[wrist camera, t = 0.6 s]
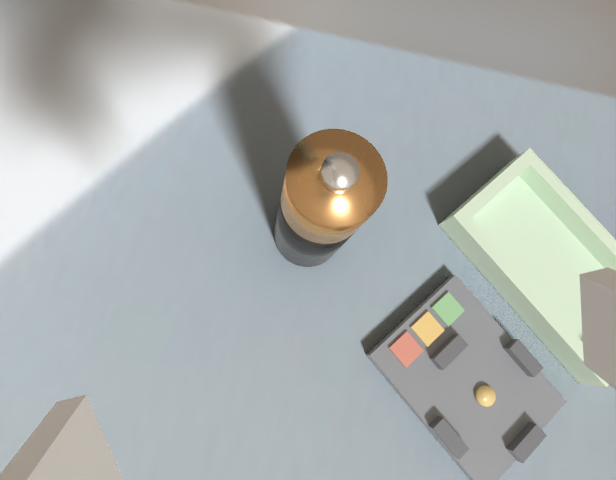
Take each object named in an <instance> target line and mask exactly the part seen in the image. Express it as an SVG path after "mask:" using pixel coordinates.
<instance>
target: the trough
mask: <svg viewBox="0 0 616 480" xmlns="http://www.w3.org/2000/svg"><path fill="white" fill-rule="evenodd" d="M439 226H440V227H441V228H442V230H443V231H444V232H445V233H446V234H447V235H448V236H449V237H450V239H451V240H452V241H453V242H454V243H455V244H456V245H457V247H458V248H459V249H460V250H461V251H462V252H463V253H464V254H465V256H466V257H467V258H468V259H469V260H470V261H471V262H472V263H473V265H474V266H475V267H476V268H477V269H478V270H479V271H480V272H481V274H482V275H483V276H484V277H485V278H486V279H487V280H488V281H489V283H490V284H491V285H492V286H493V287H494V288H495V289H496V291H497V292H498V293H499V294H500V295H501V296H502V297H503V298H504V300H505V301H506V302H507V303H508V304H509V305H510V306H511V307H512V309H513V310H514V311H515V312H516V313H517V314H518V315H519V316H520V318H521V319H522V320H523V321H524V322H525V323H526V324H527V326H528V327H529V328H530V329H531V330H532V331H533V332H534V333H535V335H536V336H537V337H538V338H539V339H540V340H541V341H542V342H543V344H544V345H545V346H546V347H547V348H548V349H549V350H550V351H551V353H552V354H553V355H554V356H555V357H556V358H557V359H558V361H559V362H560V363H561V364H562V365H563V366H564V367H565V368H566V370H567V371H568V372H569V373H570V374H571V375H572V376H573V377H574V379H575V380H576V381H577V382H578V383H580V384H587V385H594V386H601V387H607V386H608V385H609V384H608V383H607V382H605V381H604V380H603V379H601V378H600V377H599V376H598V375H596V374H595V373H594V372H593V371H591V370H590V369H589V368H587V367H586V366H585V365H584V357H583V336H582V316H581V295H580V274H583V273H587V272H591V271H595V270H599V269H603V268H607V267H608V268H611V269H613V270H615V271H616V240H615V239H614V238H613V237H612V235H611V234H610V233H609V232H608V231H607V230H606V229H605V228H604V227H603V226H602V225H601V224H600V223H599V222H598V220H597V219H596V218H595V217H594V216H593V215H592V214H591V213H590V212H589V211H588V210H587V209H586V208H585V207H584V205H583V204H582V203H581V202H580V201H579V200H578V199H577V198H576V197H575V196H574V195H573V194H572V193H571V192H570V190H569V189H568V188H567V187H566V186H565V185H564V184H563V183H562V182H561V181H560V180H559V179H558V178H557V177H556V175H555V174H554V173H553V172H552V171H551V170H550V169H549V168H548V167H547V166H546V165H545V164H544V163H543V161H542V160H541V159H540V158H539V157H538V156H537V155H536V154H535V153H534V152H533V151H532V150H531V149H530V148H529V149H528V150H526V151H525V152H523V153H522V154H520V155H519V156H517V157H516V158H514V159H513V160H511V161H510V162H509V163H508V164H507V165H506V166H504V167H503V168H502V169H501V170H500V171H499V172H498V173H496V174H495V175H494V176H493V177H492V178H491V179H490V180H489V181H487V182H486V183H485V184H484V185H483V186H482V187H481V188H479V189H478V190H477V191H476V192H475V193H474V194H473V195H472V196H470V197H469V198H468V199H467V200H466V201H465V202H464V203H462V204H461V205H460V206H459V207H458V208H457V209H456V210H455V211H453V212H452V213H451V214H450V215H449V216H448V217H447V218H445V219H444V220H443V221H442V222H441V223H440V224H439Z"/></svg>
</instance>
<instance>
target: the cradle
mask: <svg viewBox="0 0 616 480" xmlns="http://www.w3.org/2000/svg"><path fill="white" fill-rule="evenodd" d="M366 356H367V357H368V358H369V359H370V360H371V362H372V363H373V364H374V365H375V366H376V368H377V369H378V370H379V371H380V372H381V374H382V375H383V376H384V377H385V378H386V380H387V381H388V382H389V383H390V384H391V386H392V387H393V388H394V389H395V390H396V392H397V393H398V394H399V395H400V396H401V398H402V399H403V400H404V401H405V402H406V404H407V405H408V406H409V407H410V408H411V410H412V411H413V412H414V413H415V414H416V416H417V417H418V418H419V419H420V420H421V422H422V423H423V424H424V425H425V426H426V428H427V429H428V430H429V431H430V432H431V434H432V435H433V436H434V437H435V438H436V440H437V441H438V442H439V443H440V444H441V446H442V447H443V448H444V449H445V450H446V452H447V453H448V454H449V455H450V456H451V457H452V459H453V460H454V461H455V462H456V463H457V465H458V466H459V467H460V468H461V469H462V471H463V472H464V473H465V474H466V475H467V477H468V478H469V479H470V480H499V479H500V478H501V476H502V475H503V474H504V473H505V472H506V471H507V470H508V468H509V467H510V466H511V465H512V464H513V463H514V461H515V460H517V461H519V462H521V463H524V462H525V460H526V459H527V458H528V457H529V456H530V455H531V453H532V452H533V451H534V450H535V449H536V448H537V446H538V445H539V444H540V443H541V442H542V441H543V439H544V438H545V437H546V436H547V435H546V434H545V433H544V432H543V431H542V429H543V428H544V427H545V426H546V424H547V423H548V422H549V421H550V420H551V419H552V418H553V416H554V415H555V414H556V413H557V412H558V411H559V409H560V408H561V407H562V406H563V405H564V404H565V403H566V400H565V399H564V398H563V397H562V396H561V395H560V394H559V392H558V391H557V390H556V389H555V388H554V387H553V386H552V384H551V383H550V382H549V381H548V380H547V379H546V378H545V376H544V375H543V374H542V373H541V372H540V371H541V370H542V369H543V367H542V366H541V364H540V363H539V362H538V361H537V360H536V359H535V358H534V356H533V355H532V354H531V353H530V352H529V351H528V350H527V348H526V347H525V346H524V345H523V344H522V343H521V342H520V341H519V339H511V338H510V337H509V335H508V334H507V333H506V332H505V331H504V330H503V329H502V327H501V326H500V325H499V324H498V323H497V322H496V321H495V320H494V318H493V317H492V316H491V315H490V314H489V313H488V312H487V310H486V309H485V308H484V307H483V306H482V305H481V304H480V302H479V301H478V300H477V299H476V298H475V297H474V296H473V294H472V293H471V292H470V291H469V290H468V289H467V288H466V287H465V285H464V284H463V283H462V282H461V281H460V280H459V279H458V277H457V276H456V275H454V276H451V277H449V278H448V279H447V280H446V281H445V282H443V283H442V284H441V285H440V286H439V287H438V288H437V289H436V290H435V291H434V292H433V293H432V294H431V295H430V296H428V297H427V298H426V299H425V300H424V301H423V302H422V303H421V304H420V305H419V306H418V307H417V308H416V309H415V310H414V311H412V312H411V313H410V314H409V315H408V316H407V317H406V318H405V319H404V320H403V321H402V322H401V323H400V324H399V325H397V326H396V327H395V328H394V329H393V330H392V331H391V332H390V333H389V334H388V335H387V336H386V337H385V338H384V339H383V340H381V341H380V342H379V343H378V344H377V345H376V346H375V347H374V348H373V349H372V350H371V351H370V352H369V353H368V354H366Z"/></svg>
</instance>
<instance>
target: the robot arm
mask: <svg viewBox="0 0 616 480" xmlns="http://www.w3.org/2000/svg"><path fill="white" fill-rule="evenodd" d="M580 295H581V316H582V336H583V357H584V365H585V366H586V367H587V368H589V369H590V370H591V371H593V372H594V373H595V374H596V375H598V376H599V377H600V378H601V379H603V380H604V381H605V382H607V383H608V384H609V385H610V386H612V387H613V388H614V389H616V271H615V270H613V269H611V268H608V267H607V268H603V269H599V270H595V271H591V272H587V273H583V274H580ZM0 480H123V476H122V474H121V472H120V470H119V467H118V465H117V463H116V461H115V458H114V456H113V454H112V452H111V450H110V447H109V445H108V443H107V441H106V438H105V436H104V434H103V432H102V429H101V427H100V425H99V423H98V420H97V418H96V416H95V414H94V411H93V409H92V407H91V405H90V403H89V400H88V398H87V396H86V395H84V396H80V397H76V398H72V399H68V400H64V401H59V402H57V403H56V404H55V405H54V407H53V408H52V409H51V410H50V412H49V413H48V414H47V415H46V417H45V418H44V419H43V421H42V422H41V423H40V424H39V426H38V427H37V428H36V429H35V431H34V432H33V433H32V435H31V436H30V437H29V438H28V440H27V441H26V442H25V443H24V445H23V446H22V447H21V449H20V450H19V451H18V452H17V454H16V455H15V456H14V457H13V459H12V460H11V461H10V463H9V464H8V465H7V466H6V468H5V469H4V470H3V471H2V473H1V474H0Z"/></svg>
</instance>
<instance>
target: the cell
mask: <svg viewBox="0 0 616 480" xmlns="http://www.w3.org/2000/svg"><path fill="white" fill-rule="evenodd" d="M386 190H387V171H386V167H385V164H384V162H383V159H382V158H381V156H380V154H379V153H378V151H377V150H376V149H375V147H374V146H373V145H372V144H371V143H369V142H368V141H367V140H366V139H364V138H363V137H361V136H359V135H357V134H355V133H353V132H350V131H346V130H341V129H326V130H321V131H317V132H315V133H312V134H310V135H309V136H307V137H305V138H304V139H303V140H301V141H300V142H299V143H298V144H297V146H296V147H295V148H294V150H293V151H292V153H291V155H290V157H289V160H288V164H287V168H286V173H285V179H284V184H283V189H282V194H281V199H280V204H279V209H278V214H277V219H276V224H275V229H274V238H275V243H276V246H277V248H278V250H279V251H280V253H281V254H282V255H283V256H284V257H285V258H286V259H287V260H288V261H290V262H292V263H294V264H296V265H299V266H305V267H311V266H316V265H319V264H322V263H324V262H325V261H327V260H328V259H329V258H330V257H331V256H332V255H333V254H334V253H335V252H336V251H337V250H338V249H339V248H340V247H341V246H342V245H343V244H344V243H345V242H346V241H347V240H348V239H349V238H350V237H351V236H352V235H353V234H354V233H355V232H356V231H357V230H358V229H359V227H360V226H361V225H362V224H363V223H364V222H365V221H366V220H367V219H368V218H369V217H370V216H371V215H372V214H373V213H374V212H375V211H376V210H377V209H378V208H379V206H380V204H381V203H382V201H383V199H384V197H385V194H386Z"/></svg>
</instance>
